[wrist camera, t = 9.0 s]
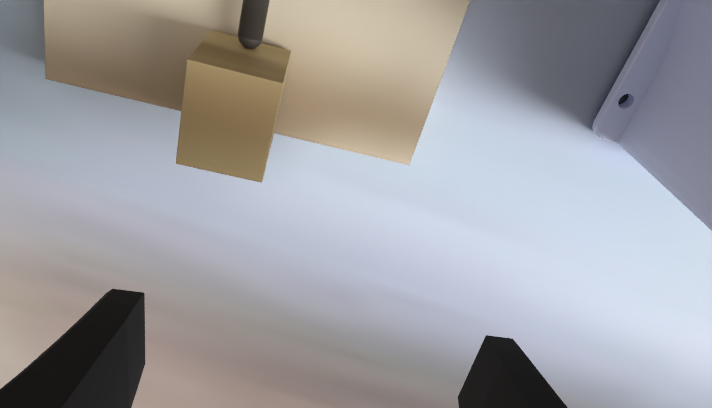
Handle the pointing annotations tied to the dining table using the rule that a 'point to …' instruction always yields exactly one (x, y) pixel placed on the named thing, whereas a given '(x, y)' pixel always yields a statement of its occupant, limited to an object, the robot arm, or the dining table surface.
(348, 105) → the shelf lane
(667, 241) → the dining table surface
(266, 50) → the block with dark rod
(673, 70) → the robot arm
